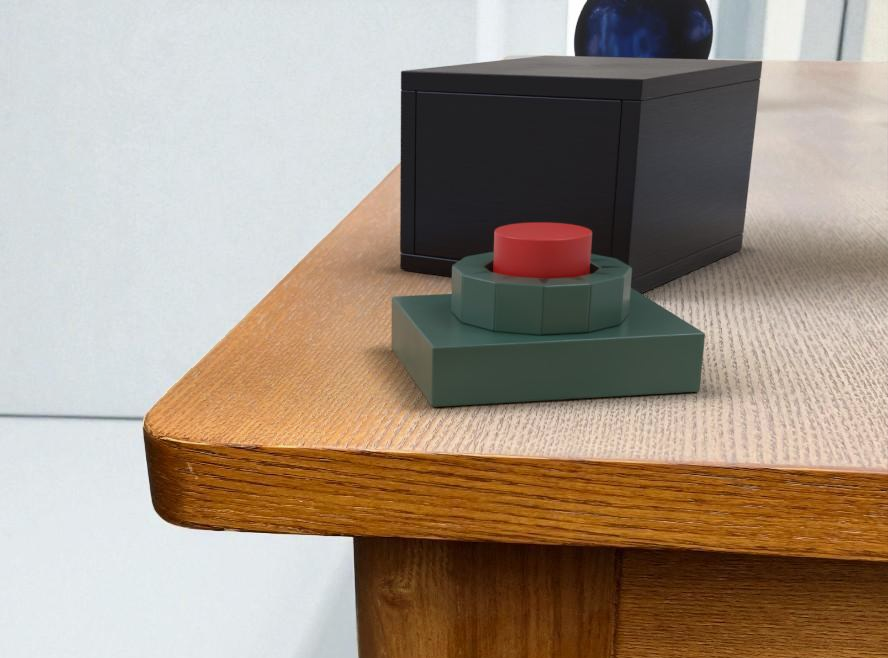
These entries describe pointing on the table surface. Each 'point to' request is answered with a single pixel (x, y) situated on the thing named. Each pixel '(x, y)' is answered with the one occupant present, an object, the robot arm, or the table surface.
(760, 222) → the table surface
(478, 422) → the table surface
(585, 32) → the decorative sphere
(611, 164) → the black paneled box
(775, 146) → the table surface
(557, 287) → the block
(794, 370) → the table surface
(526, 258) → the button
